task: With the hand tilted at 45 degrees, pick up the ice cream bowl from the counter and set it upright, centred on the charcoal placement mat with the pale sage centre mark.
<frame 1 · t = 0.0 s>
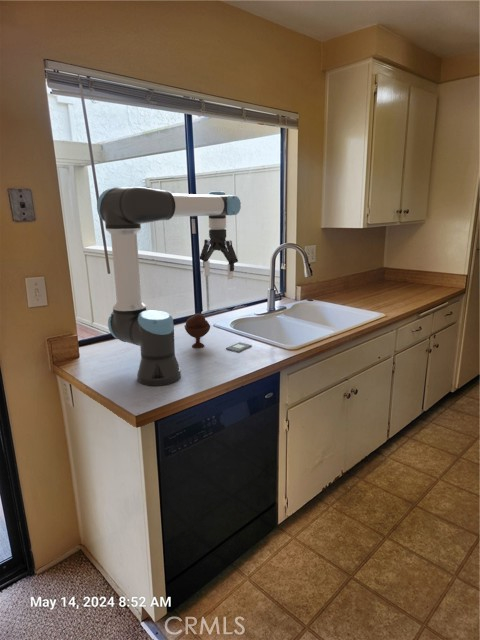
hand: (218, 277, 184), 28 cm above the countertop, tool pointing down, fingers open, 13 cm apart
placement mat: (239, 347, 176), on the countertop
ice cream bowl: (198, 346, 178), on the countertop
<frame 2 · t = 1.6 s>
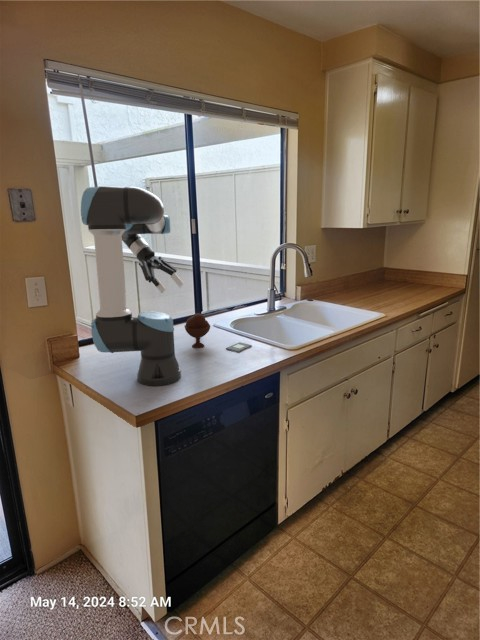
hand: (173, 288, 176), 25 cm above the countertop, tool tilted 45°, fingers open, 13 cm apart
nothing on the countertop moved.
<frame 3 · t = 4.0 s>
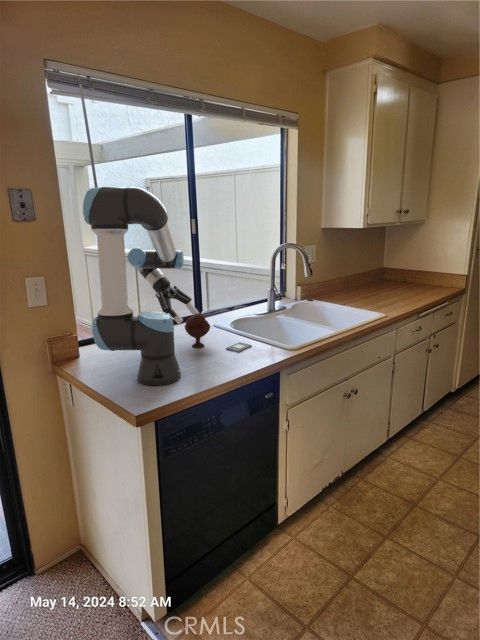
hand: (189, 318, 178), 12 cm above the countertop, tool tilted 45°, fingers open, 13 cm apart
nothing on the countertop moved.
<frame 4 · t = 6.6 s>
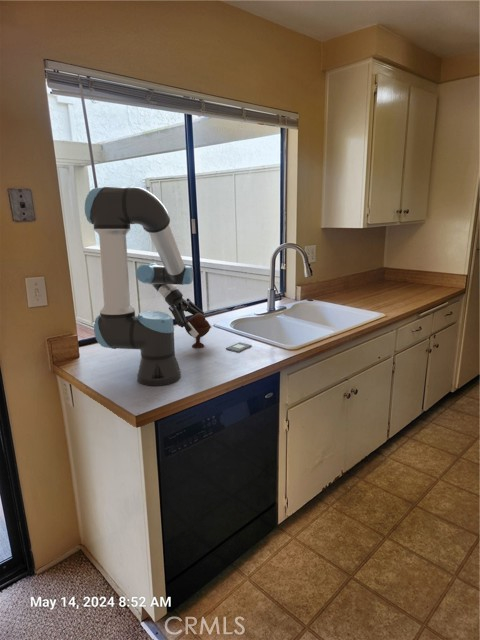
hand: (203, 332, 175), 7 cm above the countertop, tool tilted 45°, fingers closed on ice cream bowl, 11 cm apart
ice cream bowl: (198, 346, 178), on the countertop, touching gripper
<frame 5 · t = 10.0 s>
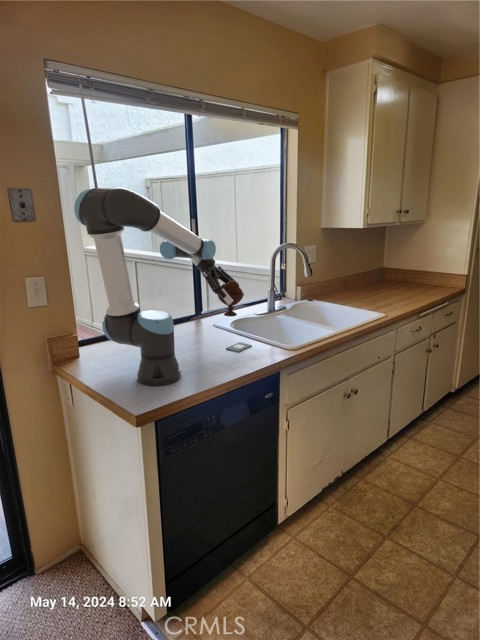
hand: (236, 300, 171), 21 cm above the countertop, tool tilted 45°, fingers closed on ice cream bowl, 11 cm apart
ice cream bowl: (230, 315, 174), point 14 cm above the countertop, touching gripper
when the fingers open (9 cm above the countertop, at t = 13.8 s): ice cream bowl drops 1 cm, resting on placement mat.
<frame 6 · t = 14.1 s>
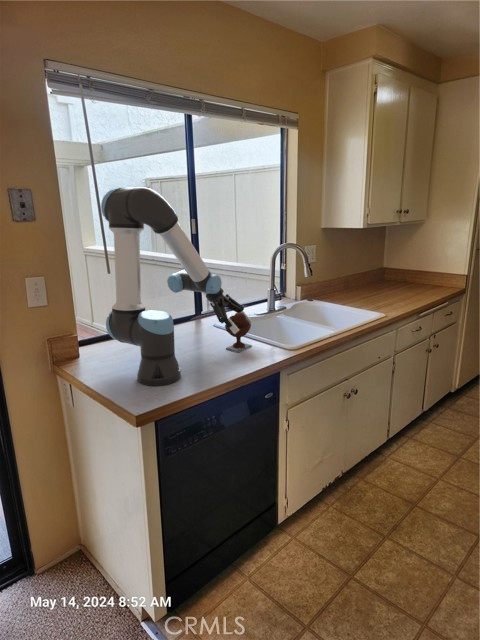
hand: (243, 328, 172), 9 cm above the countertop, tool tilted 45°, fingers open, 13 cm apart
ice cream bowl: (238, 346, 176), point 1 cm above the countertop, touching placement mat
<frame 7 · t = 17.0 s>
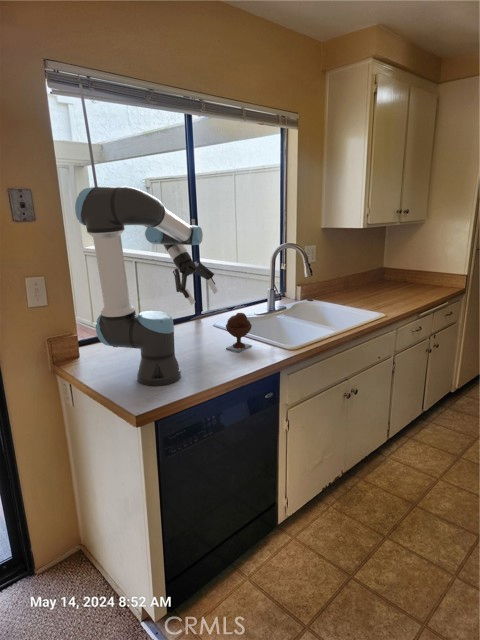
hand: (205, 298, 176), 21 cm above the countertop, tool tilted 35°, fingers open, 13 cm apart
nothing on the countertop moved.
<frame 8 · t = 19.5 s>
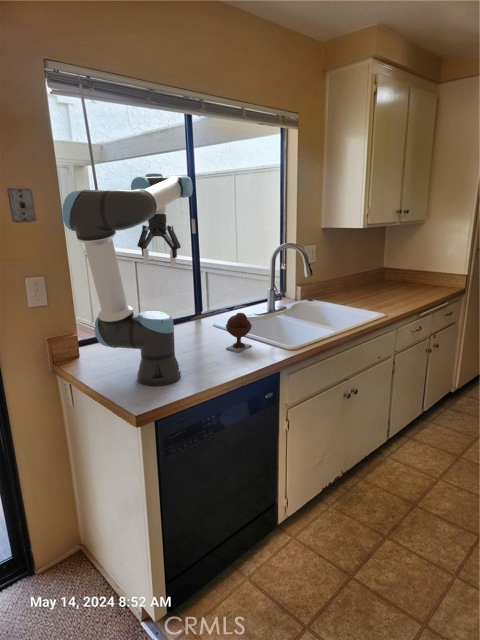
hand: (159, 264, 174), 35 cm above the countertop, tool pointing down, fingers open, 13 cm apart
nothing on the countertop moved.
at the end: ice cream bowl 0.3 cm off-centre on the placement mat, point 0.5 cm above the placement mat's base; ice cream bowl tilted 0°; the gripper is holding nothing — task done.
